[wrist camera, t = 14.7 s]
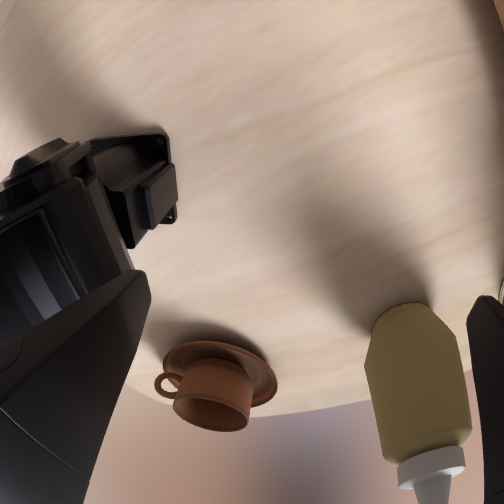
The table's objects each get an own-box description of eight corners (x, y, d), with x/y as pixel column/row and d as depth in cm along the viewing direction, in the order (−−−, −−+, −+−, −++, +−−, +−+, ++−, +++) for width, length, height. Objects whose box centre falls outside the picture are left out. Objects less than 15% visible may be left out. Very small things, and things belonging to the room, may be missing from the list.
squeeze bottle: (400, 362, 28) (419, 533, 13) (341, 335, 26) (343, 542, 11) (459, 313, 23) (513, 499, 8) (405, 275, 22) (461, 516, 7)
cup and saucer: (189, 392, 36) (176, 433, 31) (151, 328, 30) (128, 376, 25) (284, 396, 33) (279, 443, 28) (270, 328, 27) (262, 386, 22)
